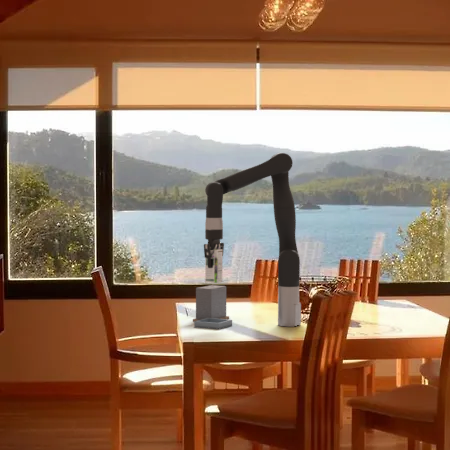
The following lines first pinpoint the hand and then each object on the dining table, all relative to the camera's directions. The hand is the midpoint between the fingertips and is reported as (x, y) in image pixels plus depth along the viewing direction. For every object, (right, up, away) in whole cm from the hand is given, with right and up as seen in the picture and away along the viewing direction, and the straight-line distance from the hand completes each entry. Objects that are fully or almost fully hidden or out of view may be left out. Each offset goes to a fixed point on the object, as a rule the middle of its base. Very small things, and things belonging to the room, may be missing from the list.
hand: (213, 267), depth 356 cm
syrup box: (0, -7, 0) cm, 7 cm away
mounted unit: (-1, -25, +20) cm, 32 cm away
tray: (0, -26, +1) cm, 26 cm away
